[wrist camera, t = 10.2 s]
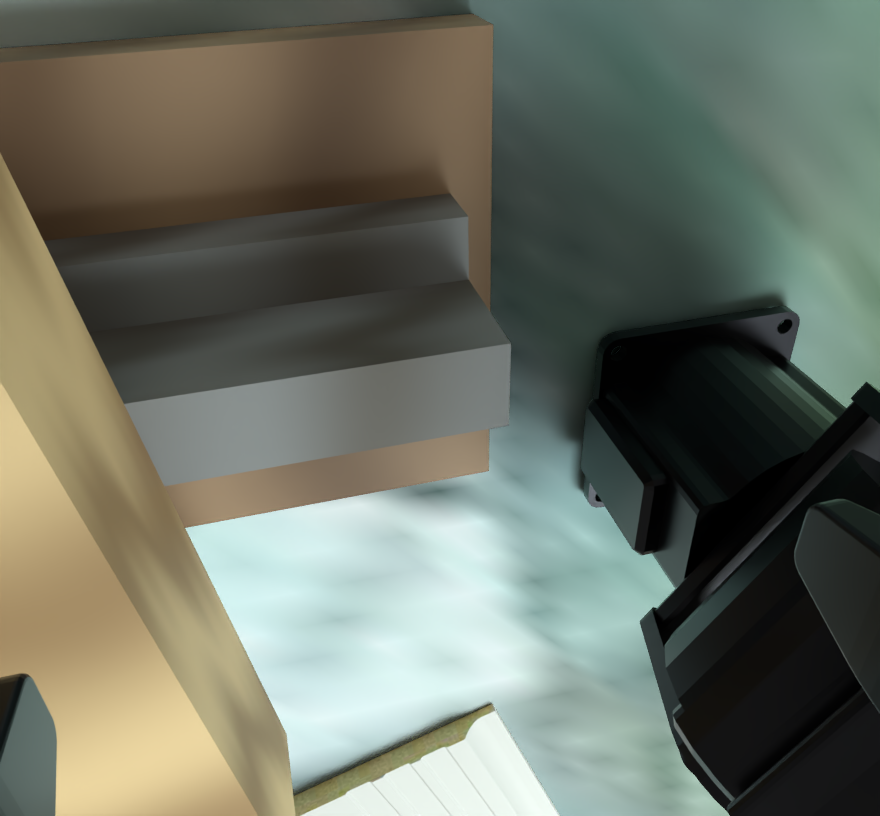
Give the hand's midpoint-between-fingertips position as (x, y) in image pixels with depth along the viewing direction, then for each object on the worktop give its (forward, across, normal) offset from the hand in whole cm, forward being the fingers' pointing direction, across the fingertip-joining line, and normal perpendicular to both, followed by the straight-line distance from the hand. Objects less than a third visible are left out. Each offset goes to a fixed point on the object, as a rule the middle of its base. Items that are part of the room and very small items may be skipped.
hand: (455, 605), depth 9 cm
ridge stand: (+13, +6, +2) cm, 14 cm away
